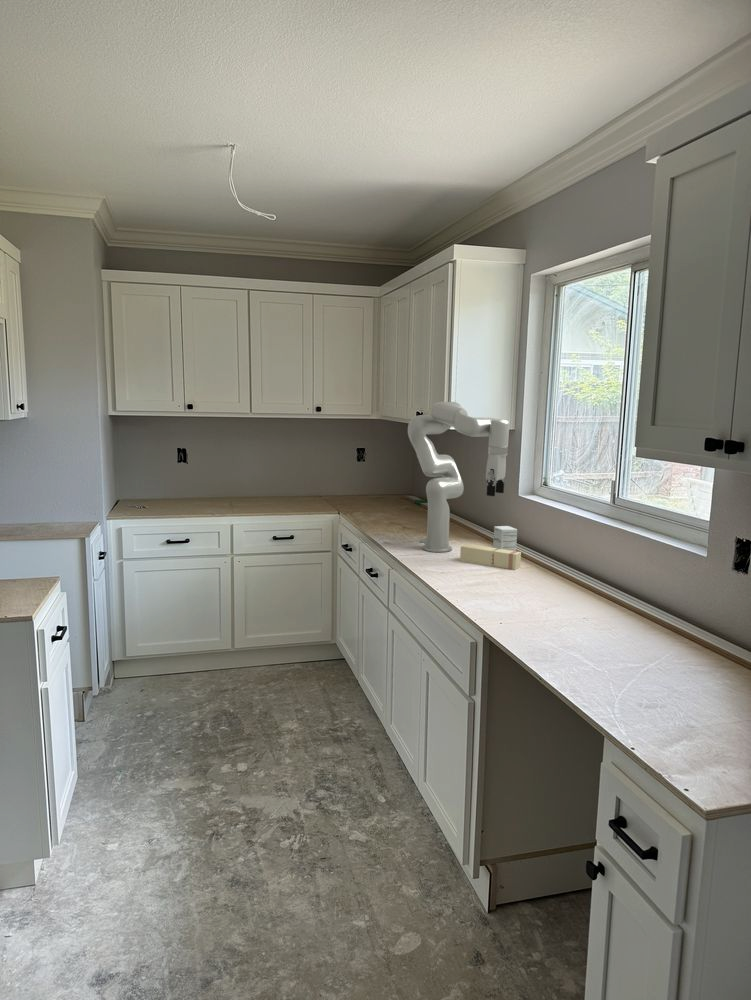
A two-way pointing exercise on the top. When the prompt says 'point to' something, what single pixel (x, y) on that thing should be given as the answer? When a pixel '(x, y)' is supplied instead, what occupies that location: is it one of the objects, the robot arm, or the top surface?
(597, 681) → the top surface
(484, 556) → the block
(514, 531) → the supplement box
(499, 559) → the stub
